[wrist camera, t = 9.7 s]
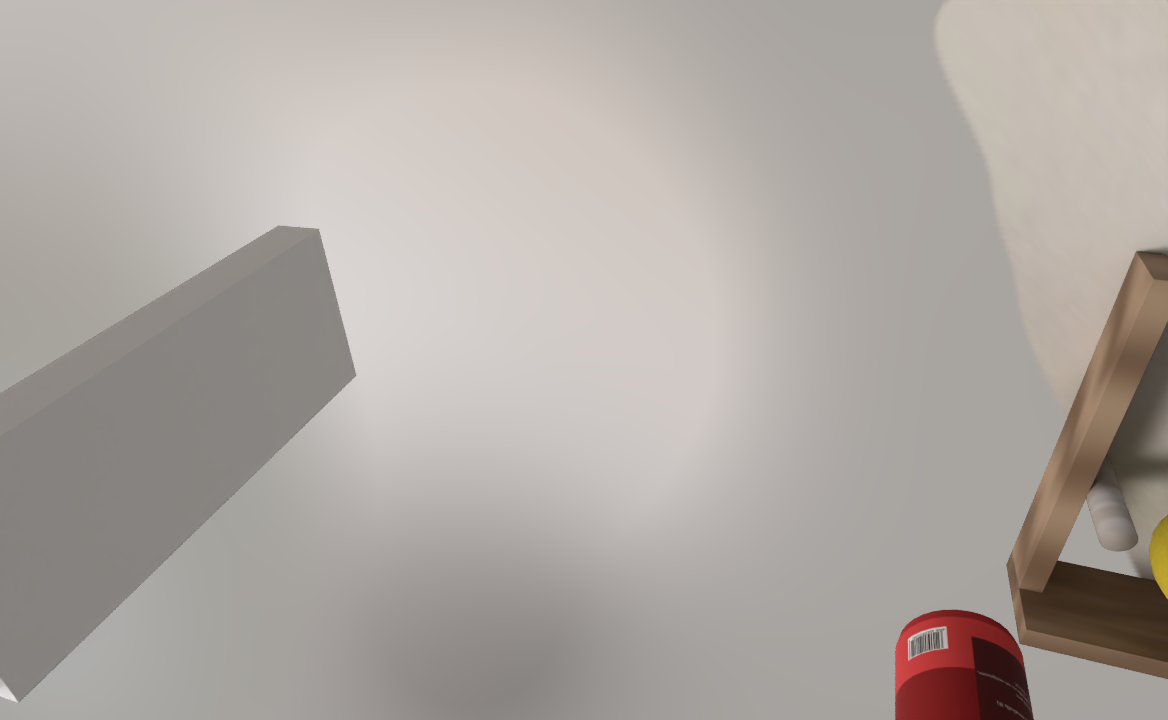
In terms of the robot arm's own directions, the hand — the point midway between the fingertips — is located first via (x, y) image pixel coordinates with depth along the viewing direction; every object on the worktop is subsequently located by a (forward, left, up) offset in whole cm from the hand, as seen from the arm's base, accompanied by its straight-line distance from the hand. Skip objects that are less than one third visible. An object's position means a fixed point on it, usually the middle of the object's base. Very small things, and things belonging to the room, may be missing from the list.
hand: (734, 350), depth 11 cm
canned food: (+39, +14, -31) cm, 52 cm away
